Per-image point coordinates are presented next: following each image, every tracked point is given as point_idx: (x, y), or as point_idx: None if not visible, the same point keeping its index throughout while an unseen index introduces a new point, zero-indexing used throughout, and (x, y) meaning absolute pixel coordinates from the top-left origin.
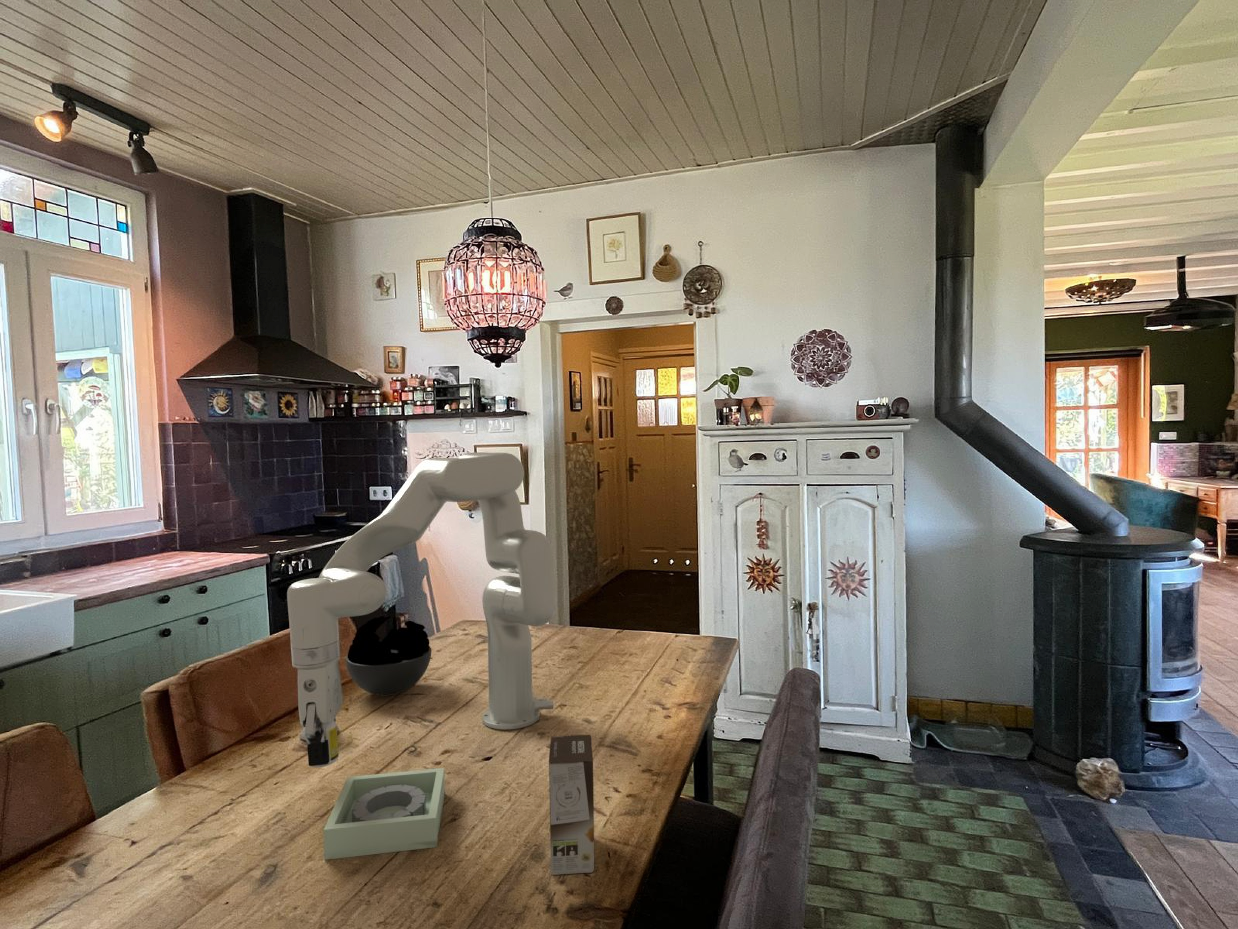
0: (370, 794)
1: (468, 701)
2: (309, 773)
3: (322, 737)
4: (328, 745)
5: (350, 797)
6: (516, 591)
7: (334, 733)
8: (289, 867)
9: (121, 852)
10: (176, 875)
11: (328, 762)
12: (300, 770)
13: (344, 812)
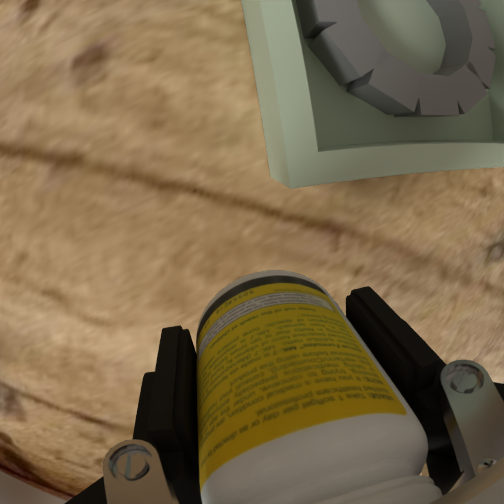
0: (379, 68)
1: None
2: (97, 364)
3: (491, 388)
4: (400, 340)
5: (361, 145)
6: None
7: (348, 377)
8: (499, 219)
9: None
10: None
11: (369, 287)
12: (89, 388)
13: (438, 141)
